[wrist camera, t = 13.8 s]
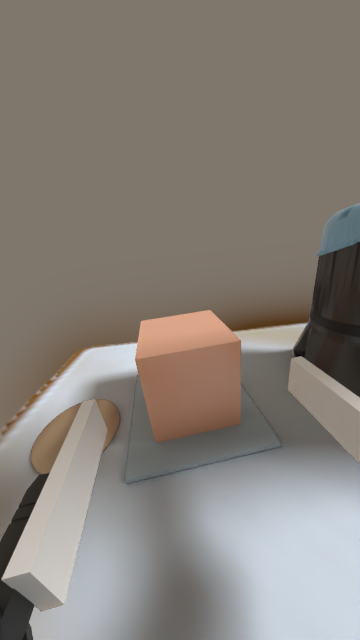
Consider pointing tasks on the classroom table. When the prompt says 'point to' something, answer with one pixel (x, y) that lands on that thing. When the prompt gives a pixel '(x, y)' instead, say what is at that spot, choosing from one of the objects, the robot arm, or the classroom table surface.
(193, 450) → the felt mat
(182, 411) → the pink block
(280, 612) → the classroom table surface
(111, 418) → the cork coaster
